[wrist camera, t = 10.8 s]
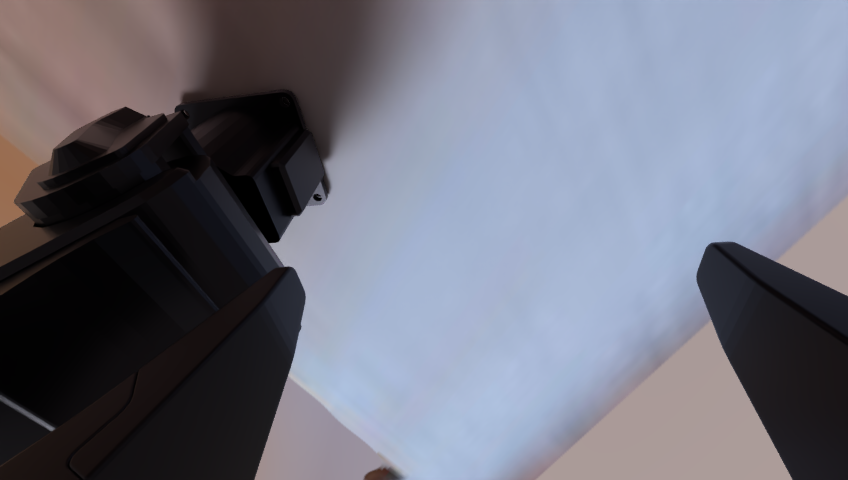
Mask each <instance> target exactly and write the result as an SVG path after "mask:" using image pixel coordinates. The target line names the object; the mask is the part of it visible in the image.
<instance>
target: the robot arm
mask: <svg viewBox="0 0 848 480" xmlns="http://www.w3.org/2000/svg"><path fill="white" fill-rule="evenodd" d="M282 97H285V98H287V99H288V100H289V104H290V105H286V104H285V103H284V102H283V101H282ZM184 110H185V111H187V112H188V113H189V116H190V117H189V116H187V115H186V114H185V113H184ZM324 174H325V173H324V170H323V167H322V163H321V160H320V157H319V154H318V151H317V148H316V145H315V142H314V139H313V135H312V133H311V132H310V131H309V130H308V129H306V126H305V123H304V120H303V117H302V114H301V111H300V108H299V105H298V101H297V99H296V97H295V95H294V94H293V93H292V92H291V91H289V90H278V91H270V92H262V93H254V94H246V95H238V96H231V97H223V98H215V99H207V100H199V101H191V102H184V103H181V104H179V105H178V106H176V108H175V113H173V114H170V115H167V116H165V114H164V113H162V114H158V115H155V116H151V117H150V116H149V115H148V116H145V115H143V114H140V113H138V112H136V111H134V110H132V109H129V108H127V107H124V108H121V109H118V110H115V111H113V112H111V113H109V114H107V115H105V116H103V117H101V118H99V119H97V120H95V121H93V122H91V123H89V124H87V125H85V126H83V127H81V128H79V129H77V130H76V131H74V132H73V133H71V134H70V135H69V136H68V137H67V138H66V139H64V140H63V141H62V142H61V143H60V144H59V145H58V146H56V147H55V148H54V149H53V153H52V158H51V161H49V162H47V163H45V164H42V165H40V166H38V167H37V168H35V169H33V170H32V171H31V173H30V174H29V176H28V178H27V179H26V181H25V183H24V184H23V186H22V188H21V190H20V191H19V193H18V195H17V196H16V198H15V200H14V203H15V204H16V205H17V206H18V207H19V208H20V209H21V210H22V211H23V212H24V213H25V215H23V216H21V217H19V218H17V219H15V220H14V221H12V222H10V223H8V224H7V225H5V226H3V227H1V228H0V480H254V479H255V476H256V473H257V470H258V466H259V463H260V460H261V457H262V454H263V451H264V448H265V445H266V442H267V439H268V436H269V433H270V429H271V426H272V423H273V420H274V417H275V414H276V411H277V408H278V405H279V402H280V399H281V396H282V392H283V389H284V386H285V383H286V380H287V377H288V374H289V371H290V368H291V364H292V361H293V358H294V353H295V349H296V344H297V340H298V335H299V331H300V330H301V320H302V315H303V310H304V305H305V299H306V296H305V291H304V288H303V286H302V284H301V282H300V279H299V277H298V275H297V273H296V271H295V269H294V268H293V267H284V265H283V264H282V262H281V261H280V259H279V258H278V256H277V255H276V253H275V252H274V251H273V249H272V248H271V246H270V245H269V243H276V242H279V240H280V239H281V237H282V235H283V234H284V232H285V230H286V229H287V227H288V225H289V224H290V222H291V220H292V219H293V217H294V216H300V215H301V213H302V212H303V210H304V209H305V207H306V206H313V205H322V204H324V203H325V201H326V200H327V197H328V193H327V190H326V187H325V184H324V181H323V176H324ZM315 194H319V195H321V197H322V198H318V197H317V196H316V195H315ZM697 284H698V286H699V289H700V292H701V294H702V297H703V299H704V302H705V304H706V307H707V310H708V312H709V315H710V317H711V320H712V322H713V325H714V327H715V330H716V333H717V335H718V338H719V340H720V342H721V345H722V347H723V349H724V351H725V353H726V355H727V357H728V359H729V361H730V363H731V365H732V367H733V369H734V371H735V373H736V374H737V376H738V378H739V380H740V382H741V384H742V385H743V388H744V389H745V391H746V393H747V395H748V397H749V398H750V401H751V403H752V404H753V406H754V408H755V410H756V412H757V414H758V416H759V417H760V419H761V421H762V423H763V425H764V427H765V429H766V430H767V433H768V434H769V436H770V438H771V440H772V442H773V444H774V446H775V448H776V449H777V451H778V453H779V455H780V457H781V459H782V461H783V463H784V464H785V466H786V468H787V470H788V472H789V474H790V476H791V477H792V479H793V480H848V296H846V295H844V294H842V293H840V292H838V291H836V290H834V289H831V288H830V287H827V286H825V285H823V284H821V283H819V282H817V281H815V280H813V279H811V278H809V277H806V276H804V275H802V274H800V273H798V272H796V271H794V270H792V269H790V268H787V267H786V266H783V265H781V264H779V263H777V262H775V261H773V260H771V259H769V258H767V257H765V256H762V255H760V254H758V253H756V252H754V251H752V250H750V249H748V248H746V247H744V246H741V245H739V244H737V243H735V242H714V243H711V244H709V245H708V246H707V247H706V249H705V252H704V255H703V257H702V260H701V263H700V266H699V268H698V271H697Z"/></svg>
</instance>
